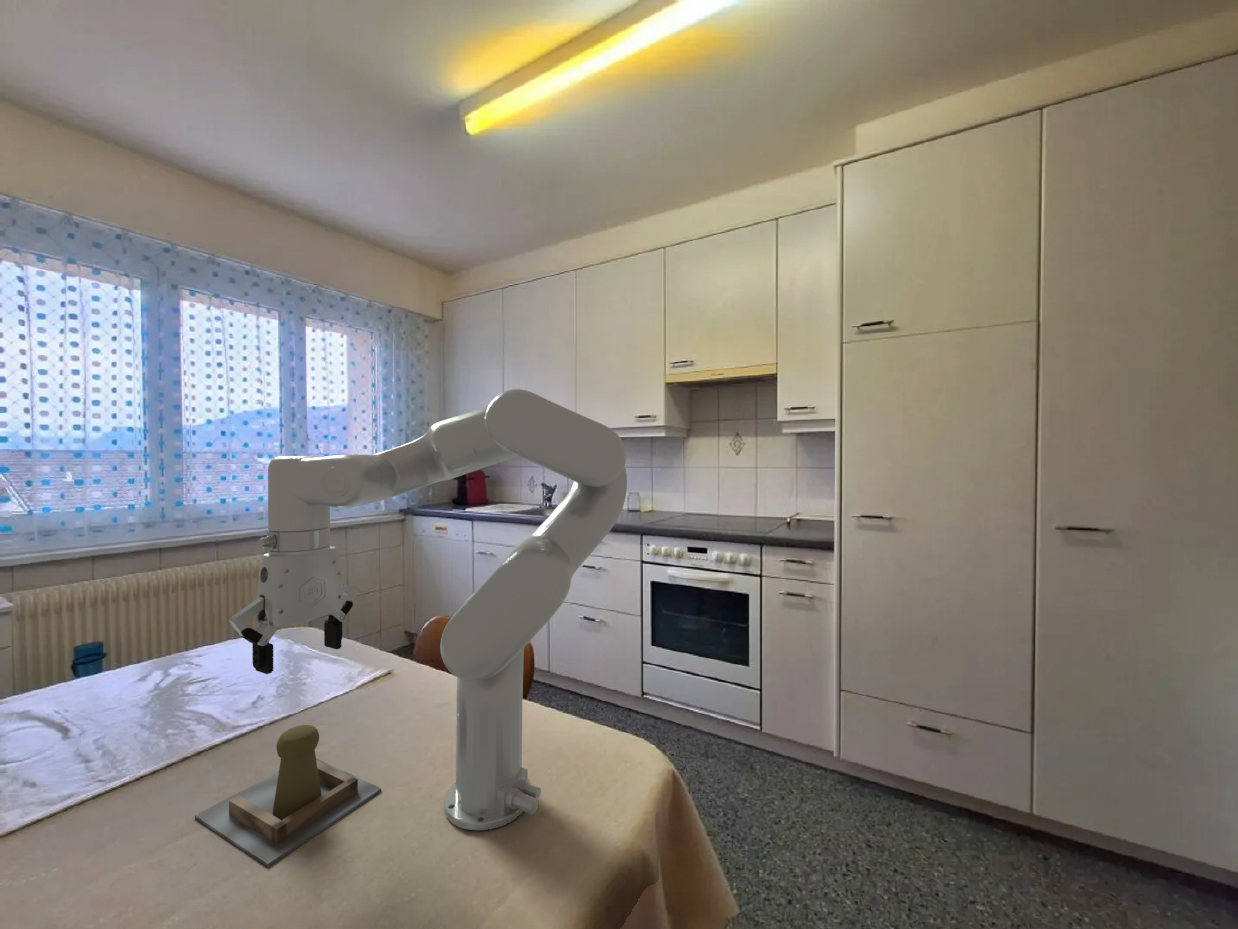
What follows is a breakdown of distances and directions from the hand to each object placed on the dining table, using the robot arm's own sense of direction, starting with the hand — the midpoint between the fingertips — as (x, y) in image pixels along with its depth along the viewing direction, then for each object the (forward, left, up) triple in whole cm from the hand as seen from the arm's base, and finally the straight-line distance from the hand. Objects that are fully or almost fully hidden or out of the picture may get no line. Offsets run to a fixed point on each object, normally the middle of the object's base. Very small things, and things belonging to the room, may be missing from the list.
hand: (300, 658), depth 72 cm
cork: (0, 0, -22) cm, 22 cm away
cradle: (+1, 0, -22) cm, 22 cm away
